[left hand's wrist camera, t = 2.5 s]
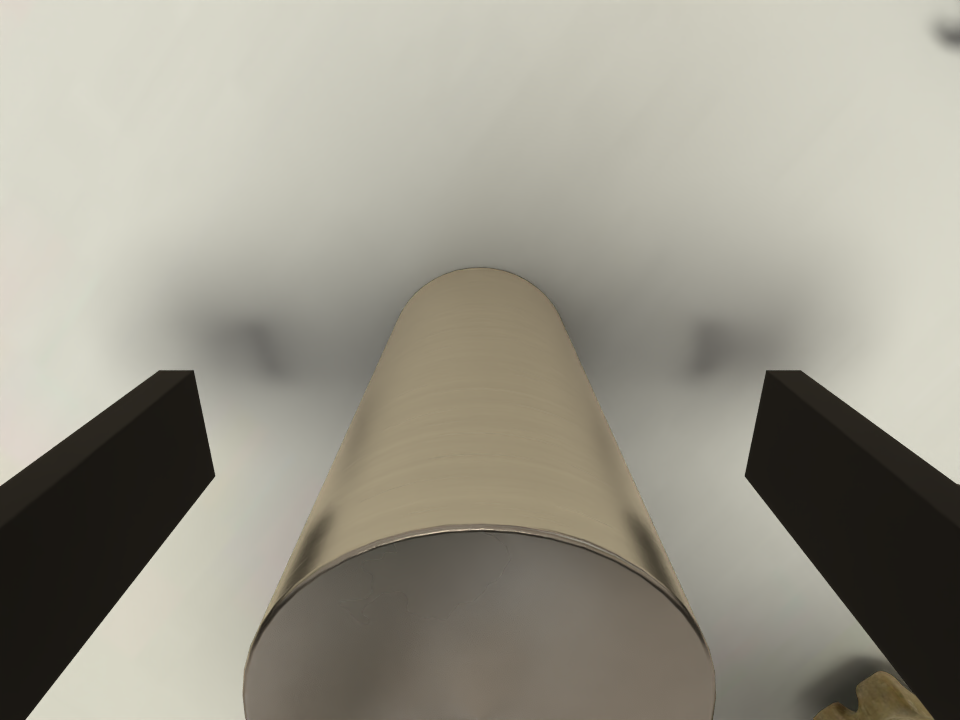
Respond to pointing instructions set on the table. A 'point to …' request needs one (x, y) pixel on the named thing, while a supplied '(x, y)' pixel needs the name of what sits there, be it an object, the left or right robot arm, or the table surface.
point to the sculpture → (879, 702)
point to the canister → (479, 542)
